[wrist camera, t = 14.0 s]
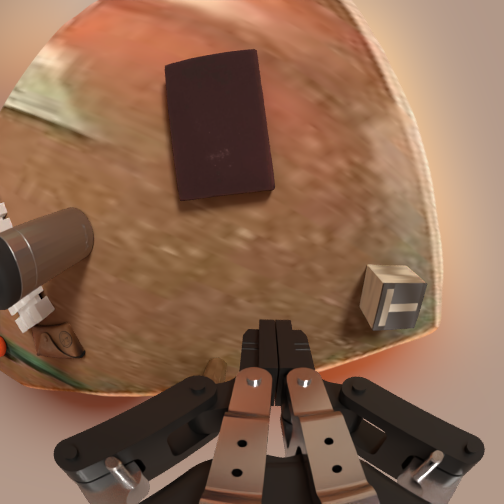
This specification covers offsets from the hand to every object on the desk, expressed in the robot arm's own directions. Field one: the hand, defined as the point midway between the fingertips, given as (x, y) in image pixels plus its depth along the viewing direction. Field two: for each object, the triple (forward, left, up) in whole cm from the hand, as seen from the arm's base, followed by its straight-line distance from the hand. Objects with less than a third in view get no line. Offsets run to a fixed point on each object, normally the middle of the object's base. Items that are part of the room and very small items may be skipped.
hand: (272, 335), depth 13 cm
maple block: (+18, -9, -18) cm, 27 cm away
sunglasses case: (-48, -26, -26) cm, 61 cm away
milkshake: (-9, -25, -25) cm, 37 cm away
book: (-7, +14, -26) cm, 30 cm away
